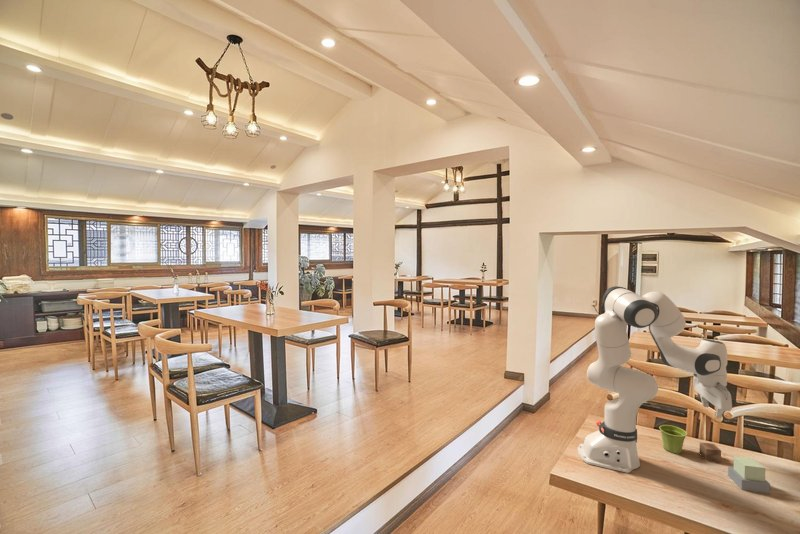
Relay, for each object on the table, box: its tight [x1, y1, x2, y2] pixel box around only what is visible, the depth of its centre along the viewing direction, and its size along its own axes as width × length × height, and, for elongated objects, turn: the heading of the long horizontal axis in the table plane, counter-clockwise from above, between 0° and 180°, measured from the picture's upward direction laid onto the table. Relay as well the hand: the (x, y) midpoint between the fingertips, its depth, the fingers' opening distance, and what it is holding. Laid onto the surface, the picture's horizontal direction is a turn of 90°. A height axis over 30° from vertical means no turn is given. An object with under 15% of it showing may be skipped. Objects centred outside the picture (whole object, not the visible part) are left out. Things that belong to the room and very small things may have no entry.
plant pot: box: [659, 424, 688, 454], centre depth 152 cm, size 9×9×9 cm
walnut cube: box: [699, 442, 722, 463], centre depth 146 cm, size 5×5×5 cm
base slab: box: [727, 466, 771, 495], centre depth 129 cm, size 8×8×4 cm
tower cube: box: [733, 455, 766, 481], centre depth 129 cm, size 6×6×5 cm
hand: (711, 411), depth 145 cm, fingers open, 8 cm apart
